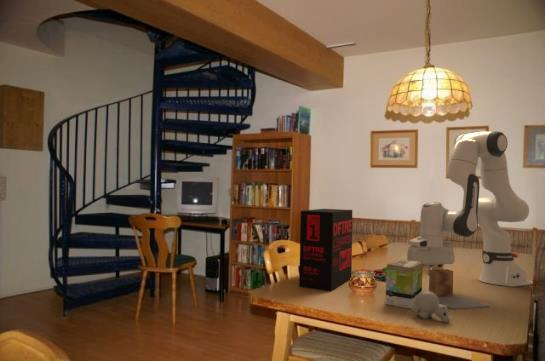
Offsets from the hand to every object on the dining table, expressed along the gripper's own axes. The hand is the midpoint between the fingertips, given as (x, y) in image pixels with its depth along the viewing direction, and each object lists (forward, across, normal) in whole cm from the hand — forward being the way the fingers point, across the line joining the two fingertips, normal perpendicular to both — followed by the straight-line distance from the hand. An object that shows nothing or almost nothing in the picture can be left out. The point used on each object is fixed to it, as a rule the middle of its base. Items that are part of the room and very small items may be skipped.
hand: (430, 275), depth 167 cm
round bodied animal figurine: (+7, +22, +32) cm, 39 cm away
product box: (+7, +38, -21) cm, 44 cm away
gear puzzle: (+7, +1, -31) cm, 32 cm away
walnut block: (+7, 0, +6) cm, 9 cm away
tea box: (+7, +20, +12) cm, 25 cm away
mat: (+7, 0, +16) cm, 18 cm away
